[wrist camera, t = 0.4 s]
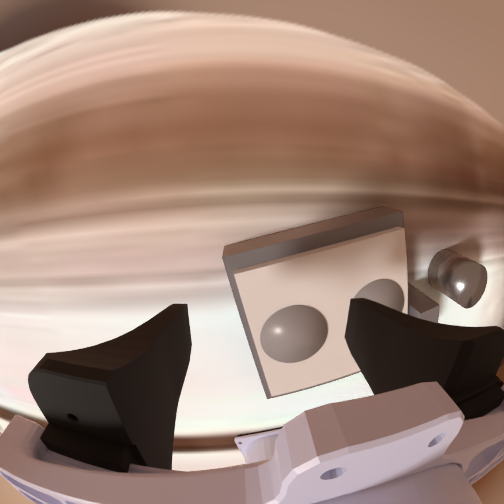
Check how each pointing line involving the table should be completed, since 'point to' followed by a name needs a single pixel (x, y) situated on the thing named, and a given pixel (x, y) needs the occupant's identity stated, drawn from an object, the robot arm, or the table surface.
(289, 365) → the scale
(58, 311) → the table surface
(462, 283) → the cylinder
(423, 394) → the robot arm
